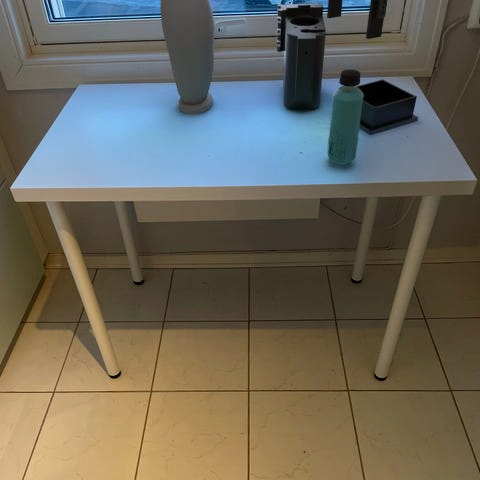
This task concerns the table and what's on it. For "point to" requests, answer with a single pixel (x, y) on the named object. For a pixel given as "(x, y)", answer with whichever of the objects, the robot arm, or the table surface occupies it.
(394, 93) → the square planter
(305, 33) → the black machined bracket
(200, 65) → the vase
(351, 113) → the beverage bottle
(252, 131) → the table surface
